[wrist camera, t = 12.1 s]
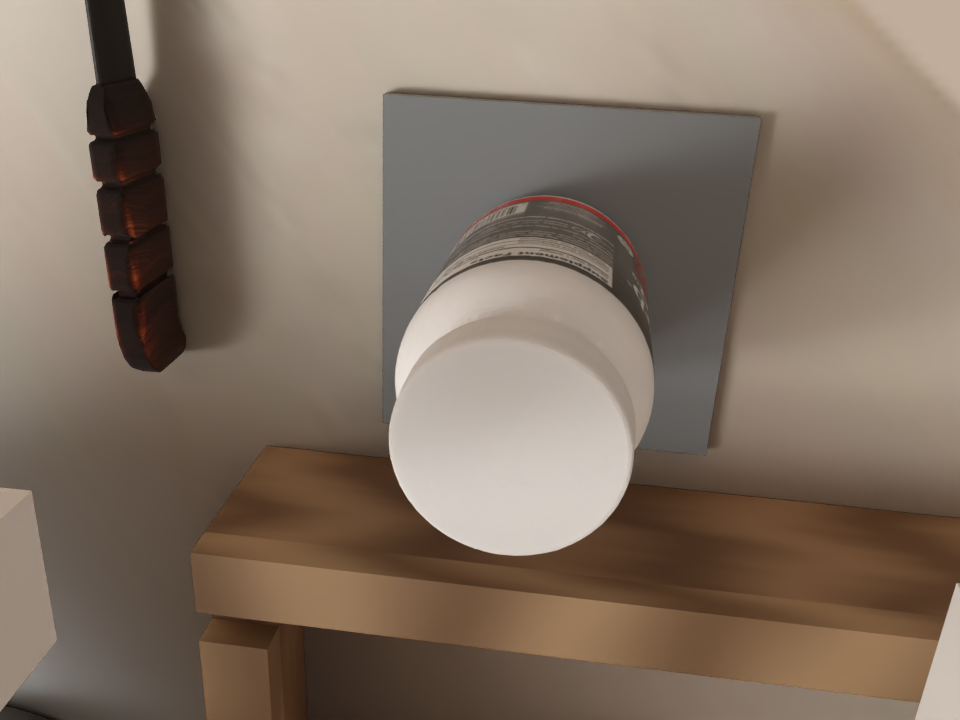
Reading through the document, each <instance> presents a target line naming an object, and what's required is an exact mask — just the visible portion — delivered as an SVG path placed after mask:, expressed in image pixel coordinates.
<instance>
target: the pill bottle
mask: <svg viewBox="0 0 960 720" xmlns="http://www.w3.org/2000/svg"><path fill="white" fill-rule="evenodd" d="M395 389H396V399H397V400H396V402H395V405H394V408H393V412H392V415H391V420H390V427H389V451H390V458H391V462H392V466H393V469H394V472H395V475H396V477H397V480H398V482H399V485H400V487H401V488H402V490H403V492H404V494H405V495H406V497H407V498H408V500H409V501H410V502H411V503H412V505H413V506H414V508H415V509H416V510H417V511H418V512H419V513H420V514H421V515H422V516H423V517H424V518H425V519H426V520H427V521H428V522H429V523H430V524H431V525H433V526H434V527H435V528H437V529H438V530H439V531H441V532H442V533H444V534H445V535H447V536H448V537H450V538H452V539H454V540H456V541H458V542H460V543H462V544H464V545H466V546H469V547H472V548H474V549H479V550H481V551H484V552H489V553H494V554H500V555H512V556H524V555H535V554H542V553H547V552H552V551H556V550H559V549H562V548H564V547H567V546H569V545H572V544H574V543H575V542H577V541H579V540H581V539H583V538H584V537H586V536H588V535H589V534H591V533H592V532H593V531H594V530H596V529H597V528H598V527H599V526H601V525H602V524H603V523H604V522H605V521H606V520H607V518H608V517H609V516H610V515H611V514H612V513H613V512H614V510H615V509H616V508H617V506H618V504H619V503H620V501H621V499H622V497H623V495H624V493H625V491H626V489H627V486H628V483H629V481H630V478H631V473H632V468H633V463H634V451H635V449H636V448H637V446H638V444H639V443H640V441H641V439H642V437H643V435H644V432H645V430H646V427H647V425H648V422H649V419H650V415H651V411H652V406H653V398H654V389H655V373H654V361H653V351H652V341H651V330H650V319H649V306H648V296H647V287H646V280H645V276H644V272H643V268H642V265H641V262H640V260H639V257H638V255H637V253H636V251H635V249H634V247H633V245H632V244H631V242H630V240H629V239H628V238H627V236H626V235H625V234H624V233H623V231H622V230H621V229H620V228H619V227H618V226H617V225H616V224H615V223H614V222H613V221H612V220H610V219H609V218H608V217H607V216H605V215H604V214H603V213H601V212H600V211H598V210H596V209H595V208H593V207H591V206H589V205H587V204H584V203H582V202H579V201H576V200H573V199H570V198H565V197H559V196H549V195H540V196H529V197H523V198H519V199H515V200H512V201H509V202H506V203H504V204H501V205H499V206H497V207H495V208H493V209H492V210H490V211H488V212H487V213H485V214H484V215H483V216H481V217H480V218H479V219H478V220H477V221H475V222H474V223H473V224H472V225H471V226H470V227H469V228H468V229H467V230H466V231H465V232H464V234H463V235H462V236H461V238H460V239H459V241H458V242H457V243H456V245H455V247H454V249H453V250H452V252H451V254H450V255H449V257H448V259H447V260H446V262H445V264H444V265H443V267H442V269H441V271H440V272H439V274H438V276H437V277H436V279H435V280H434V282H433V284H432V285H431V287H430V289H429V291H428V292H427V294H426V296H425V297H424V299H423V300H422V302H421V304H420V305H419V307H418V308H417V310H416V312H415V313H414V315H413V317H412V319H411V320H410V322H409V325H408V327H407V329H406V332H405V334H404V337H403V339H402V342H401V345H400V348H399V352H398V356H397V362H396V369H395Z"/></svg>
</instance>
